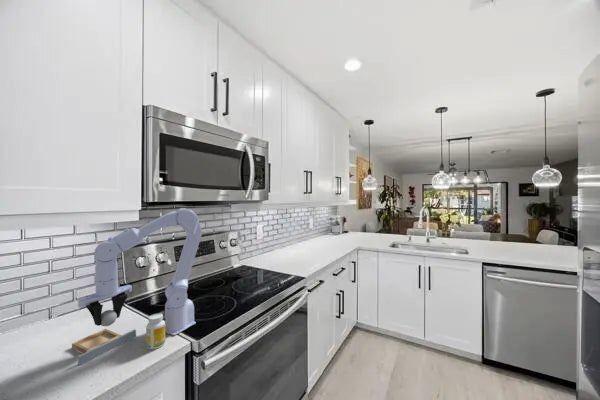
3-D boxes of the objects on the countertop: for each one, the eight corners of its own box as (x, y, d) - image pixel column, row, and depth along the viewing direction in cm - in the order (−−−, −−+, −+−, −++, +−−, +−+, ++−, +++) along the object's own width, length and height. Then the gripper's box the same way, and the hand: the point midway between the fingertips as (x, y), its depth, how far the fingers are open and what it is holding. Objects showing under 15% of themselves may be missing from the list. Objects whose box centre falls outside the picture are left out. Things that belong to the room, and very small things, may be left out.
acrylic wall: (134, 336, 88) (134, 329, 87) (136, 336, 87) (135, 329, 87) (78, 364, 73) (77, 356, 73) (79, 365, 73) (79, 356, 73)
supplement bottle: (143, 350, 80) (142, 320, 79) (151, 340, 85) (150, 312, 85) (161, 349, 80) (160, 319, 80) (168, 339, 86) (167, 311, 85)
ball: (111, 320, 85) (111, 306, 85) (120, 323, 83) (120, 309, 83) (94, 327, 80) (94, 312, 80) (103, 330, 78) (103, 315, 78)
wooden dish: (105, 333, 90) (105, 328, 90) (121, 339, 85) (121, 335, 85) (71, 348, 81) (71, 343, 81) (87, 356, 77) (87, 351, 77)
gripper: (123, 271, 89) (123, 309, 90) (72, 284, 76) (73, 328, 77) (135, 273, 86) (136, 313, 87) (85, 288, 73) (85, 334, 74)
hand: (107, 320), depth 81 cm, fingers closed on ball, 5 cm apart
